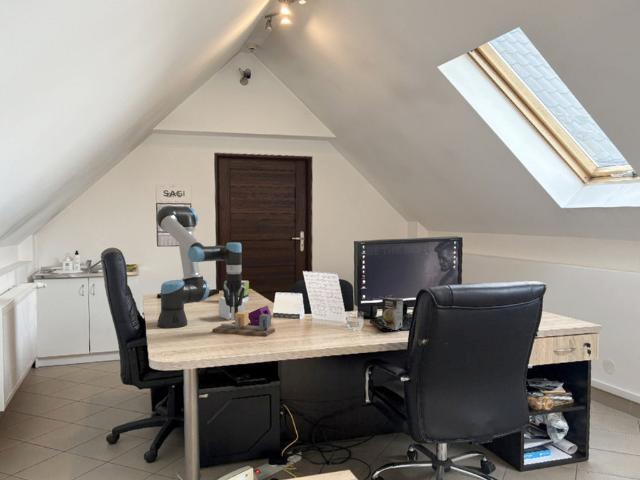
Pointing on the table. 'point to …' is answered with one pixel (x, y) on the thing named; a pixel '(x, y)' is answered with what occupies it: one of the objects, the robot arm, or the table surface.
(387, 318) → the coffee box
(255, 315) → the mounting bracket
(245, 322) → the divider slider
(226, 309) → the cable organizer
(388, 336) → the table surface
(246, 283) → the tea box
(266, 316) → the rail and fixed leg
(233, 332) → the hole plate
